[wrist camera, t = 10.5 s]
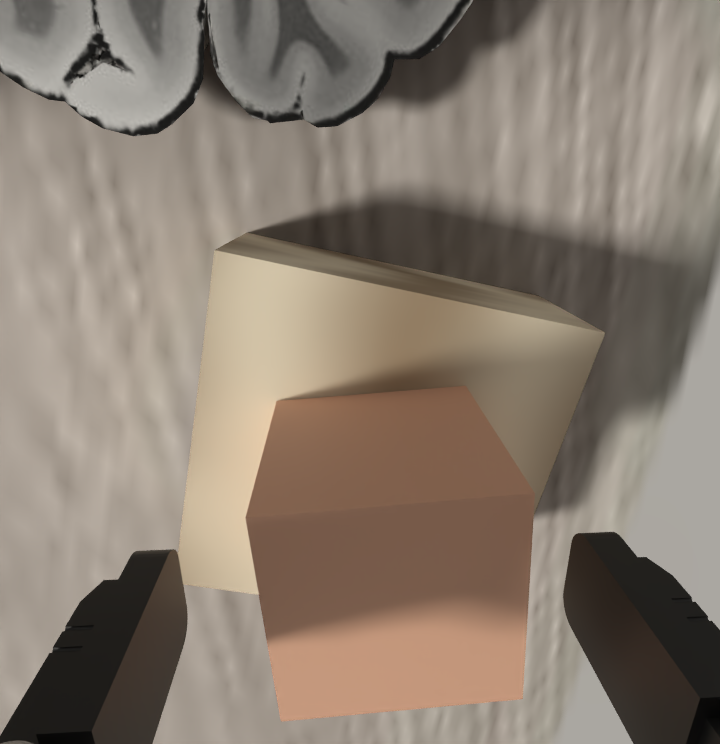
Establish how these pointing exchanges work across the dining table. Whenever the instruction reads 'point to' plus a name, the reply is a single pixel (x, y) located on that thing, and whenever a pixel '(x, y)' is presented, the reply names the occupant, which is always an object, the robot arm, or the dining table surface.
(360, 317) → the birch block
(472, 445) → the terracotta cube
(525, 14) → the dining table surface
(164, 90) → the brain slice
